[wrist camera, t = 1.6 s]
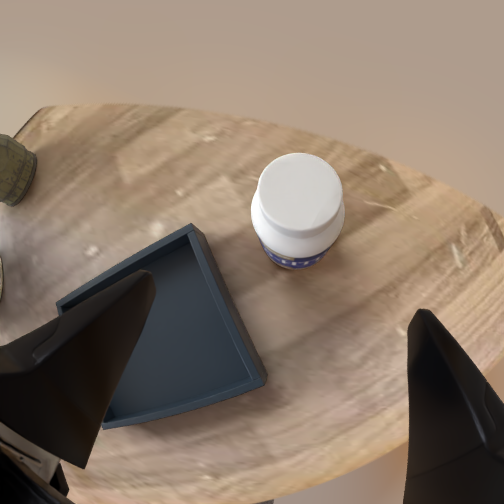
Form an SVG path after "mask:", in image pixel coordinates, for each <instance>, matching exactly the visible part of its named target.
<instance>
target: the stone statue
mask: <svg viewBox="0 0 504 504" xmlns="http://www.w3.org/2000/svg"><path fill="white" fill-rule="evenodd" d="M36 163H37V159H36V155H35V154H33V153H32V152H31V151H28V150H27V149H26V148H25V146H23V145H22V144H20V143H19V142H17V141H16V140H14V139H13V138H11V137H10V136H8V135H3V134H0V202H3V203H5V204H6V205H9V206H14V205H16V204H18V203H19V202H20V200H21V199H22V198H23V197H24V195H25V194H26V192H27V190H28V188H29V186H30V184H31V182H32V179H33V177H34V174H35V169H36Z"/></svg>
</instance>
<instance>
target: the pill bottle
mask: <svg viewBox="0 0 504 504" xmlns="http://www.w3.org/2000/svg"><path fill="white" fill-rule="evenodd" d="M251 217H252V222H253V226H254V228H255V231H256V233H257V235H258V237H259V240H260V242H261V244H262V246H263V249H264V251H265V252H266V254H267V255H268V257H269V258H270V259H271V260H272V261H273V262H275V263H276V264H278V265H279V266H282V267H284V268H287V269H293V270H299V269H305V268H308V267H311V266H313V265H314V264H316V263H317V262H318V261H320V260H321V259H322V258H323V256H324V255H325V254H326V252H327V251H328V250H329V248H330V247H331V246H332V245H333V243H334V242H335V240H336V239H337V237H338V236H339V234H340V232H341V229H342V227H343V223H344V218H345V207H344V202H343V189H342V184H341V181H340V178H339V176H338V174H337V173H336V171H335V170H334V169H333V168H332V166H331V165H329V164H328V163H327V162H326V161H324V160H323V159H321V158H319V157H317V156H314V155H311V154H306V153H291V154H287V155H283V156H281V157H279V158H277V159H275V160H274V161H272V162H271V163H270V164H269V165H268V166H267V167H266V168H265V169H264V171H263V172H262V174H261V176H260V178H259V182H258V187H257V190H256V192H255V194H254V197H253V200H252V205H251Z"/></svg>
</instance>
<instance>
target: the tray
mask: <svg viewBox="0 0 504 504" xmlns="http://www.w3.org/2000/svg"><path fill="white" fill-rule="evenodd" d="M139 270H145V271H150V272H151V273H152V276H153V279H154V283H155V287H156V296H155V299H154V301H153V304H152V307H151V309H150V312H149V315H148V318H147V320H146V323H145V326H144V328H143V331H142V333H141V335H140V337H139V340H138V342H137V344H136V346H135V348H134V350H133V352H132V354H131V357H130V359H129V361H128V363H127V365H126V367H125V370H124V372H123V374H122V376H121V379H120V381H119V383H118V386H117V388H116V390H115V392H114V395H113V397H112V400H111V402H110V404H109V407H108V409H107V412H106V414H105V417H104V419H103V422H102V424H101V426H102V428H103V430H105V429H112V428H118V427H123V426H129V425H134V424H139V423H143V422H148V421H152V420H157V419H161V418H165V417H169V416H173V415H177V414H180V413H184V412H188V411H191V410H194V409H198V408H201V407H204V406H208V405H211V404H214V403H217V402H220V401H223V400H226V399H229V398H232V397H235V396H238V395H240V394H243V393H246V392H248V391H251V390H254V389H256V388H259V387H261V386H264V385H265V382H266V379H267V376H268V374H267V372H266V370H265V368H264V366H263V364H262V362H261V360H260V357H259V355H258V353H257V351H256V349H255V347H254V345H253V343H252V341H251V339H250V337H249V334H248V332H247V330H246V328H245V326H244V324H243V322H242V320H241V317H240V315H239V313H238V311H237V309H236V307H235V304H234V302H233V300H232V298H231V296H230V293H229V291H228V289H227V287H226V284H225V282H224V280H223V278H222V275H221V273H220V271H219V269H218V266H217V264H216V262H215V260H214V257H213V255H212V253H211V250H210V248H209V246H208V243H207V241H206V239H205V236H204V234H203V233H202V232H201V231H200V230H199V229H198V228H197V227H195V226H194V225H193V224H192V223H190V224H188V225H186V226H185V227H183V228H181V229H179V230H177V231H175V232H173V233H172V234H170V235H168V236H166V237H164V238H163V239H161V240H159V241H157V242H155V243H153V244H152V245H150V246H148V247H146V248H145V249H143V250H141V251H139V252H138V253H136V254H134V255H132V256H131V257H129V258H127V259H125V260H124V261H122V262H120V263H119V264H117V265H115V266H114V267H112V268H110V269H109V270H107V271H105V272H104V273H102V274H100V275H99V276H97V277H95V278H94V279H92V280H90V281H89V282H87V283H86V284H84V285H82V286H81V287H79V288H78V289H76V290H75V291H73V292H71V293H70V294H68V295H67V296H65V297H64V298H62V299H61V300H59V301H57V302H56V306H57V310H58V314H59V316H61V315H62V314H63V313H65V312H67V311H68V310H70V309H72V308H73V307H75V306H77V305H78V304H80V303H82V302H84V301H85V300H87V299H89V298H91V297H92V296H94V295H96V294H97V293H99V292H101V291H103V290H105V289H106V288H108V287H110V286H112V285H113V284H115V283H117V282H119V281H121V280H122V279H124V278H126V277H128V276H130V275H131V274H133V273H135V272H137V271H139Z"/></svg>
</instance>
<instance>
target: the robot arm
mask: <svg viewBox="0 0 504 504" xmlns="http://www.w3.org/2000/svg"><path fill="white" fill-rule="evenodd" d="M155 296H156V287H155V283H154V279H153V276H152V273H151V272H150V271H145V270H139V271H137V272H135V273H133V274H131V275H130V276H128V277H126V278H124V279H122V280H121V281H119V282H117V283H115V284H113V285H112V286H110V287H108V288H106V289H105V290H103V291H101V292H99V293H97V294H96V295H94V296H92V297H91V298H89V299H87V300H85V301H84V302H82V303H80V304H78V305H77V306H75V307H73V308H72V309H70V310H68V311H67V312H65V313H63V314H62V315H61V316H58V317H57V318H55V319H53V320H52V321H50V322H48V323H46V324H45V325H43V326H41V327H39V328H38V329H36V330H34V331H32V332H30V333H28V334H26V335H24V336H22V337H20V338H18V339H16V340H14V341H13V342H11V343H9V344H7V345H4V346H0V504H75V503H73V502H72V501H71V500H69V499H68V498H66V497H67V494H68V492H69V487H68V484H67V482H66V479H65V476H64V473H63V470H62V466H61V464H60V463H59V462H60V460H61V459H62V460H64V461H67V462H69V463H71V464H73V465H75V466H77V467H80V468H82V469H85V467H86V465H87V462H88V459H89V456H90V454H91V451H92V448H93V445H94V443H95V440H96V437H97V435H98V432H99V430H100V427H101V424H102V422H103V419H104V417H105V414H106V412H107V409H108V407H109V404H110V402H111V400H112V397H113V395H114V392H115V390H116V388H117V386H118V383H119V381H120V379H121V376H122V374H123V372H124V370H125V367H126V365H127V363H128V361H129V359H130V357H131V354H132V352H133V350H134V348H135V346H136V344H137V342H138V340H139V337H140V335H141V333H142V331H143V328H144V326H145V323H146V320H147V318H148V315H149V312H150V309H151V307H152V304H153V301H154V299H155ZM407 336H408V359H407V374H408V393H409V447H408V463H407V464H408V465H407V476H406V483H405V491H404V499H403V504H504V403H503V402H502V401H501V400H500V398H499V397H498V395H497V394H496V392H495V391H494V390H493V388H492V387H491V386H490V384H489V383H488V382H487V380H486V379H485V377H484V376H483V374H482V373H481V372H480V370H479V369H478V368H477V366H476V365H475V364H474V363H473V361H472V360H471V359H470V357H469V356H468V355H467V354H466V352H465V351H464V350H463V348H462V347H461V346H460V345H459V344H458V342H457V341H456V340H455V339H454V337H453V336H452V335H451V334H450V333H449V331H448V330H447V329H446V328H445V327H444V326H443V324H442V323H441V322H440V321H439V320H438V319H437V318H436V316H435V315H434V314H433V313H432V312H431V311H430V310H428V309H418V310H417V312H416V313H415V315H414V317H413V319H412V320H411V322H410V324H409V326H408V331H407Z"/></svg>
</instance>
